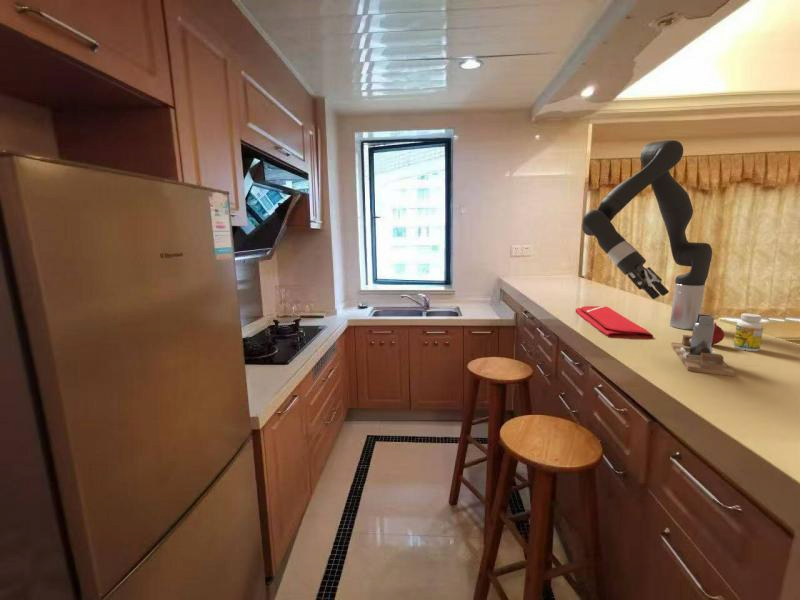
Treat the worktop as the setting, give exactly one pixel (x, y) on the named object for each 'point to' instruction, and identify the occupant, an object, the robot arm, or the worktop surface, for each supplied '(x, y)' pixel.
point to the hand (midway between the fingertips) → (661, 295)
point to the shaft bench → (701, 359)
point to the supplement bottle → (748, 333)
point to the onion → (717, 334)
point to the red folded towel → (611, 322)
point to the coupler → (702, 334)
